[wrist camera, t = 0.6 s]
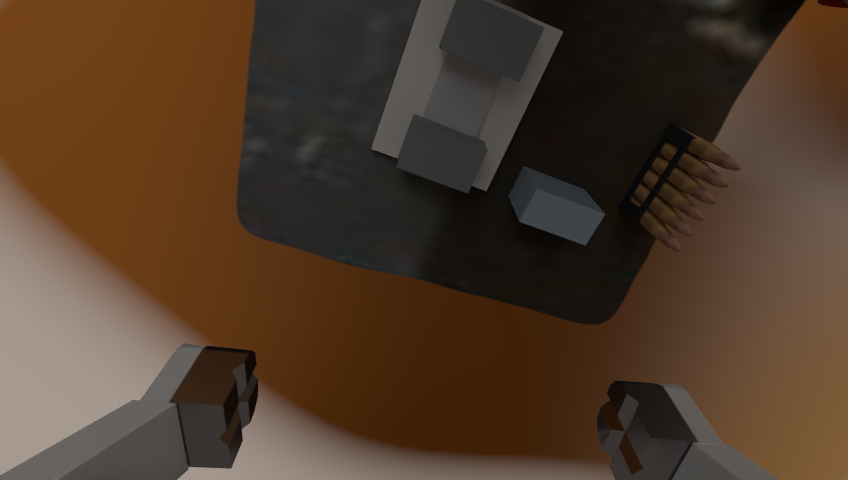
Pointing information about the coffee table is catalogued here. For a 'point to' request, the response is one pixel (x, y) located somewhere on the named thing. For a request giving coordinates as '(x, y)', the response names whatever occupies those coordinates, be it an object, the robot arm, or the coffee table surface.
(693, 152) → the ammunition clip
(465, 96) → the board
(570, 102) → the coffee table surface
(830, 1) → the medicine box
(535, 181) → the block
